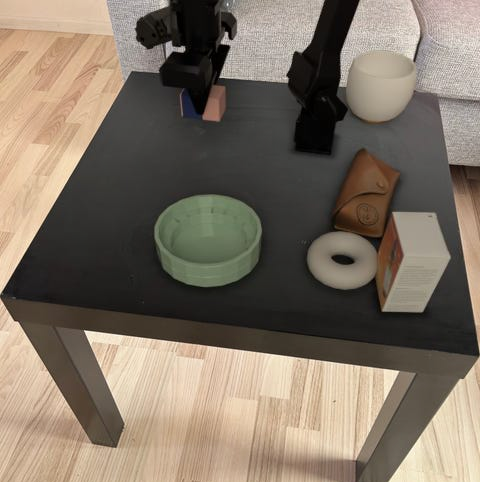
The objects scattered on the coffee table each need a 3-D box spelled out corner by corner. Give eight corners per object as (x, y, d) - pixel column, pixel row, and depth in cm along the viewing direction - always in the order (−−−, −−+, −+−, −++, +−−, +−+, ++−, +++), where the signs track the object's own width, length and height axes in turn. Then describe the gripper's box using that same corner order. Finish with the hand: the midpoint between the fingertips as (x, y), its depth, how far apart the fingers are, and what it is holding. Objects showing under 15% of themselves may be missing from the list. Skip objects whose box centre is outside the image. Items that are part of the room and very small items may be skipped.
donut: (369, 303, 64) (381, 252, 70) (375, 286, 61) (387, 234, 67) (297, 284, 66) (314, 236, 72) (299, 267, 63) (317, 219, 69)
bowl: (268, 225, 73) (269, 201, 70) (249, 297, 64) (250, 274, 61) (175, 212, 75) (172, 188, 71) (145, 280, 66) (139, 257, 63)
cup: (411, 133, 89) (427, 81, 81) (345, 132, 89) (355, 80, 81) (398, 99, 96) (412, 48, 89) (337, 99, 97) (345, 48, 89)
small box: (371, 268, 67) (390, 209, 59) (411, 269, 67) (436, 210, 59) (380, 313, 63) (402, 255, 54) (423, 314, 63) (452, 256, 54)
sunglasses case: (385, 238, 71) (371, 202, 67) (341, 246, 75) (325, 213, 71) (402, 170, 81) (391, 135, 77) (363, 180, 85) (350, 148, 81)
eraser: (225, 108, 75) (225, 85, 72) (219, 122, 72) (218, 99, 70) (189, 103, 76) (187, 81, 73) (181, 117, 73) (179, 94, 70)
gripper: (161, -40, 67) (172, 72, 80) (110, 10, 56) (132, 132, 69) (238, -34, 66) (237, 80, 78) (200, 20, 55) (207, 142, 67)
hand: (204, 106), depth 73 cm, fingers closed on eraser, 4 cm apart
